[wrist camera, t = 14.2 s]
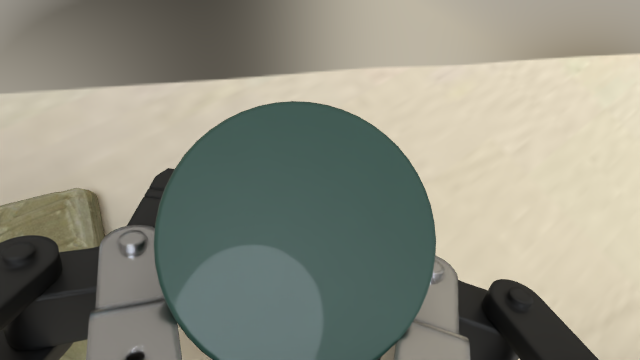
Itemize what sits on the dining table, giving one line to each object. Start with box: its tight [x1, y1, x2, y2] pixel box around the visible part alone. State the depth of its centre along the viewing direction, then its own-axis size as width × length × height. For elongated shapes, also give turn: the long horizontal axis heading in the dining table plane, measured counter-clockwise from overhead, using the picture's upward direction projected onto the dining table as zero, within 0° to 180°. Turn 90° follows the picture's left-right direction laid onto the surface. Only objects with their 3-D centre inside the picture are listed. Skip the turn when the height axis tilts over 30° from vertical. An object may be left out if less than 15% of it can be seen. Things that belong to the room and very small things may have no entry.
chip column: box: [154, 101, 436, 360], centre depth 11 cm, size 5×5×10 cm
